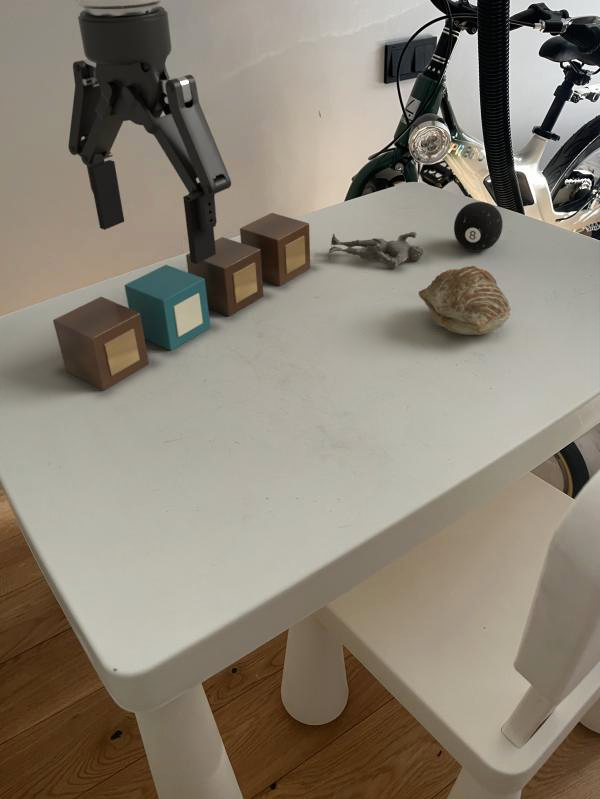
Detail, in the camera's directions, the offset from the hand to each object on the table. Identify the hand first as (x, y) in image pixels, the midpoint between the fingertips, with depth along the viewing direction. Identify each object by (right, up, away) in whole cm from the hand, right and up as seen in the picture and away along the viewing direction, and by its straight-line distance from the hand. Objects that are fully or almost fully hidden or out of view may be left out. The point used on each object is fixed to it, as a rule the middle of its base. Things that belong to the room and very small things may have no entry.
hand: (155, 241), depth 75 cm
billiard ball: (+38, +3, +21) cm, 43 cm away
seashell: (+32, -8, +5) cm, 33 cm away
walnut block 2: (+6, -4, +12) cm, 14 cm away
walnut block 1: (-5, -13, +1) cm, 14 cm away
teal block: (+1, -9, +6) cm, 11 cm away
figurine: (+24, +2, +19) cm, 31 cm away
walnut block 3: (+12, 0, +17) cm, 21 cm away
